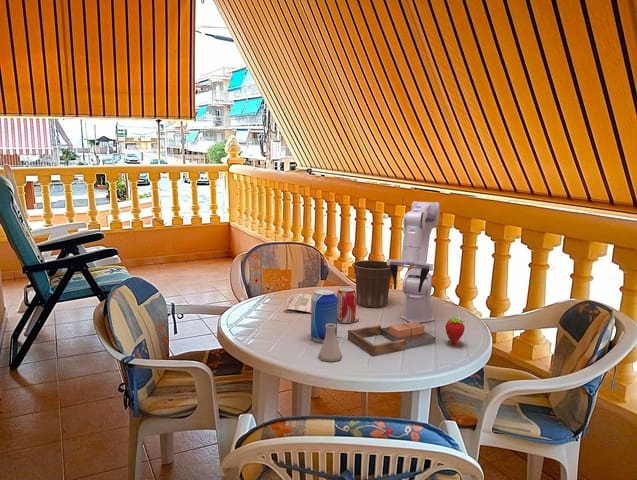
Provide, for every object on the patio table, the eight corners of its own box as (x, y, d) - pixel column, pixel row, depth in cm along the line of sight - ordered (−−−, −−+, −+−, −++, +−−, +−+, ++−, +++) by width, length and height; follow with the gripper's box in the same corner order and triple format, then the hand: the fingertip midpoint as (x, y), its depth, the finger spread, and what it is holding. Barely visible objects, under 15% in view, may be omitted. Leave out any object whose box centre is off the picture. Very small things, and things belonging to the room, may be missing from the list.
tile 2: (414, 328, 172) (415, 321, 171) (424, 333, 167) (424, 326, 167) (402, 330, 169) (403, 323, 169) (411, 335, 165) (412, 328, 165)
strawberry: (461, 340, 167) (463, 310, 165) (464, 349, 160) (467, 318, 158) (443, 339, 168) (445, 309, 166) (445, 347, 160) (447, 317, 159)
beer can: (318, 345, 161) (318, 296, 158) (306, 336, 168) (306, 289, 165) (341, 341, 165) (342, 293, 162) (328, 332, 172) (329, 286, 169)
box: (378, 333, 172) (379, 325, 171) (405, 349, 158) (405, 340, 158) (347, 339, 166) (348, 330, 166) (372, 356, 153) (372, 346, 153)
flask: (316, 352, 155) (317, 321, 153) (340, 352, 156) (341, 321, 154) (318, 362, 148) (319, 329, 146) (343, 362, 149) (344, 329, 147)
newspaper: (289, 297, 213) (290, 291, 213) (318, 301, 212) (319, 295, 212) (278, 314, 191) (279, 307, 191) (311, 319, 190) (311, 312, 189)
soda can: (354, 325, 179) (355, 292, 177) (334, 323, 181) (335, 290, 179) (356, 318, 186) (357, 286, 184) (337, 317, 188) (338, 285, 185)
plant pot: (370, 295, 216) (371, 257, 213) (400, 304, 204) (402, 264, 201) (343, 302, 205) (344, 263, 202) (373, 312, 193) (375, 271, 190)
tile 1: (401, 330, 169) (401, 323, 169) (410, 335, 165) (410, 328, 164) (388, 332, 167) (389, 325, 167) (397, 337, 163) (398, 330, 162)
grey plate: (409, 329, 176) (409, 323, 176) (435, 343, 164) (435, 337, 164) (379, 334, 171) (379, 328, 171) (404, 349, 159) (404, 343, 158)
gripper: (388, 244, 162) (384, 286, 160) (435, 249, 160) (431, 292, 158) (389, 247, 169) (384, 288, 167) (433, 252, 166) (429, 293, 165)
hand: (407, 290), depth 163 cm, fingers open, 7 cm apart
